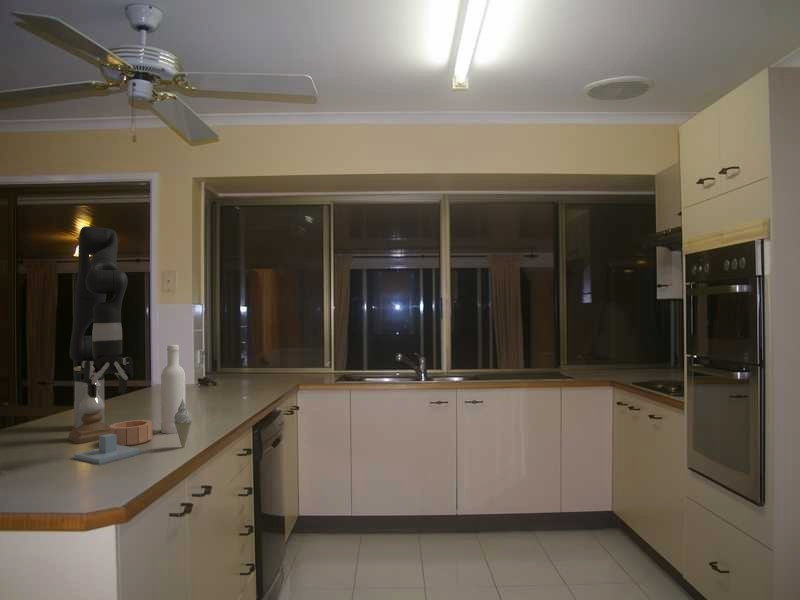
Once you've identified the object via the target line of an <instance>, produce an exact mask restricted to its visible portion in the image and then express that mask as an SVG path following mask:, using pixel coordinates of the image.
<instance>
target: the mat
mask: <svg viewBox="0 0 800 600" xmlns="http://www.w3.org/2000/svg"><path fill="white" fill-rule="evenodd" d="M145 454H146V452H145V451H140V453H139V454H135V455H131V456H127V457H124V458H120V459H116V460H112V461H109V462H105V463H101V464H97V463H93V462H88V461H84V460H79V459H75V458H74V456H72V457H69V458H67V459H68V460H71V461H76V462H80V463H84V464H89V465H94V466H98V467H100V466H103V465H108V464H111V463H114V462H119V461H122V460H125V459H129V458H133V457H137V456H140V455H145Z"/></svg>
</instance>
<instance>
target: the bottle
mask: <svg viewBox="0 0 800 600" xmlns="http://www.w3.org/2000/svg"><path fill="white" fill-rule="evenodd" d="M166 347H167V348H166V351H167V365H166V366H165V367H164V368H163V370H162V372H161V375H160V386H161V387H160V391H161V392H160V395H161V397H160V399H161V401H160V404H161V405H160V406H161V408H160V410H161V413H160V414H161V416H160V417H161V419H160V421H161V423H160V427H161V433H162V434H168V435H169V434H170V435H171V434H172V435H173V434H178V432H177V429H176V426H175V423H174V420H175V419H174V416H175V414H176V413H177V412H178V408H179V406H180V404H181V402H182V399H183V401H184V403H185V405H186V372H185V370H184V368H183V367H182V366H181V365H180V360H179V359H180V358H179V357H180V352H179V351H180V345H179V344H168V345H167V346H166ZM186 406H187V405H186Z"/></svg>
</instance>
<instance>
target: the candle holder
mask: <svg viewBox="0 0 800 600" xmlns="http://www.w3.org/2000/svg"><path fill="white" fill-rule="evenodd" d="M73 370H74V371H75V372H76V371H77V372H80V370H81V365H78V366H75V367H73ZM93 370H94V367H93V366H92V367H91V368H90V374H91V373H92V371H93ZM95 384H96V397H95V398H90V396H88V385H87V383H85V384H84V385H83V387H84V389H85V391H86V395H85V397H84V399H83V400H82V402H81V403H80V405H79V410H80V411H81V412H82V413H84V415H83V416H82V417H81V420H82V421H83V422H84V423H83V424H81V425H80V426H79V427H78V428H74V427H73V428H72V429H71V432H69V433H68V440H69V441H71V442H72V443H75V444H77V445H82V444H88V443H92V442H97V441H99V436H101V435H106V434H109V426H110V425H108V424H106V423H105V422H104V423H103V422H101V421H100V420H101V419H102V414H101V413H100V411H102V410H103V409H104V410H105V407H106V406H105V401H104V402H103V400H102V399H101V398H100V396H99V395H98V389H99V387H100V386H101V384H100V383H99V381H98V380H97V381H96V383H95Z"/></svg>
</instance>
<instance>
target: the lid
mask: <svg viewBox="0 0 800 600" xmlns="http://www.w3.org/2000/svg"><path fill="white" fill-rule="evenodd" d="M140 452H141V448H137V447H134V446H133V447H131V446H122V445H117V435H115V434H106V435H101V436H99V440H98V448H94V449H91V450H85V451H81V452H78V453H74V454H73V455H74V456H73V457H74V458H75V459H79V460H84V461H88V462H93V463H97V464H101V463H105V462H109V461H112V460H116V459H120V458H124V457H127V456H131V455H135V454H139V453H140Z"/></svg>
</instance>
